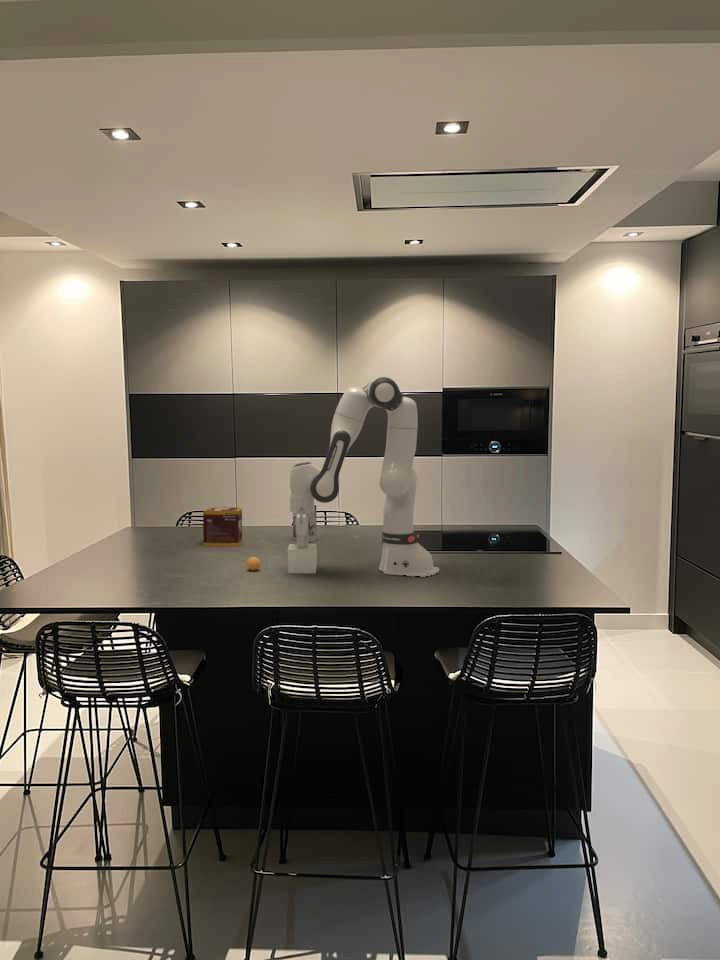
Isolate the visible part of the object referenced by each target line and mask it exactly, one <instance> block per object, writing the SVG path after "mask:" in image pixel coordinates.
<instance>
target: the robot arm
mask: <svg viewBox="0 0 720 960" xmlns="http://www.w3.org/2000/svg"><path fill="white" fill-rule="evenodd" d="M375 407H376V408H381V409H384V410H386V413H387V426H386V428H387V429H386V441H385V450H384V451H385V452H384V454H383V455H384V456H383V460H382V466H381V472H380V477H379V487H380V488H379V489H380V490H381V492H383V494H385V502H384V503H385V504H384V508H383V521H382V523H383V525H382V526H383V527H382V528H383V531H382V532H381V533H382V534H381V544H382V551H381V556H380V557H381V558H380V563H379V566H378V570H379V571H381V572H382V573H383V574H384V575H392V576H403V575H406V577H415V576H420V577H419V578H426V576H428V577H431V575H432V576H434V575H436V573H437V574H438V573H439V572H440V568H439V567H438V566H434V561H433V556H432V554H431V553H430V552H429V551H428V550H427V549H425V547H423V546H422V545H421V544H420V543H419V542H418V539H419V538H420V537H419V536H420V534H416V533H415V532H414V510H415V501H416V493H417V492H416V491H417V482H418V481H417V480H418V478H417V477H418V475H417V473H416V471H415V469H414V468H413V464H414V459H415V454H416V452H417V440H418V426H419V422H418V421H419V420H418V417H419V416H418V408H417V402H416V401H415V400H414V399H412V398H411V397H407V396H403V395H402V392H401V390H400V388H399V386H398V383H396V381H394V380H393V379H392V378H390V377H386V376H378V377H375V378H374V379H372V380H371V381H370V382H369V383H368V384H366V385H365V386H364V387H363V388H359V387H354V386H353V387H348V389H345V391H344V393H343V395H342V396H341V398H340V400H339V401H338V404H337V406H336V408H335V413H334V414H333V418H332V421H331V428H330V439H329V441H330V442H329V448H328V451H327V455H326V456H325V460H324V461H323V462H324V463H323V464H322V465H323V466H322V467H321V468H320V467H318V466H316V465H315V464H313V463H312V462H309V461H308V462H300V463H296V464H295V465H293V466H292V467H291V470H290V476H289V488H290V497H289V512H291V513H293V512H294V516H296V535H297V536H299V545H300V546H304V538H305V535H306V533H307V527H308V522H309V516H311V512H313V511H314V505H315V501H317V502H320V503H323V504H326V503H331V502H333V501H334V500H335V499H336V498H337V497H338V494H339V491H340V480H339V478H340V477H339V476H340V473H341V470H342V467H343V464H344V461H345V458H346V456H347V453H348V452H349V449H350V447H351V446H352V445H353V443H354V442H355V441H356V440H357V438H358V437H359V435H360V432H361V430H362V428H363V425H364V422H365V420H366V417H367V414H368V412H369V411H370V409H372V408H375Z"/></svg>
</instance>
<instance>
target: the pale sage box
mask: <svg viewBox="0 0 720 960" xmlns="http://www.w3.org/2000/svg"><path fill="white" fill-rule="evenodd" d="M317 568H318V567H317V543H309V542H308V535H305V538H304V546H300V545H299V536H297V541H296V543H289V544H288V547H287V574H317Z"/></svg>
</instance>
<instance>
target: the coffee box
mask: <svg viewBox="0 0 720 960" xmlns="http://www.w3.org/2000/svg"><path fill="white" fill-rule="evenodd" d="M292 533H293V534H292V535H293V538H292V539H293V540H292V541H293V542H297V535H296V516H294V512H292ZM306 535H308V543H312V542H315V541H317V537H318V536H317V505H316V504H314V511H313V512H311V516H309V522H308V527H307V533H306Z"/></svg>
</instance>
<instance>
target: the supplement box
mask: <svg viewBox="0 0 720 960" xmlns="http://www.w3.org/2000/svg"><path fill="white" fill-rule="evenodd" d="M202 514H203V515H202V518H203V519H202V522H203V523H202V524H203V525H202V529H203V531H202V532H203V533H202V534H203V543H202V544H203V547H239V546H241V544H243V507H228V506H227V507H226V506H225V507H222V506H221V507H219V506H218V507H215V506H214V507H211V506H210V507H207V508H206V509H204V510H203V513H202Z"/></svg>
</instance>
